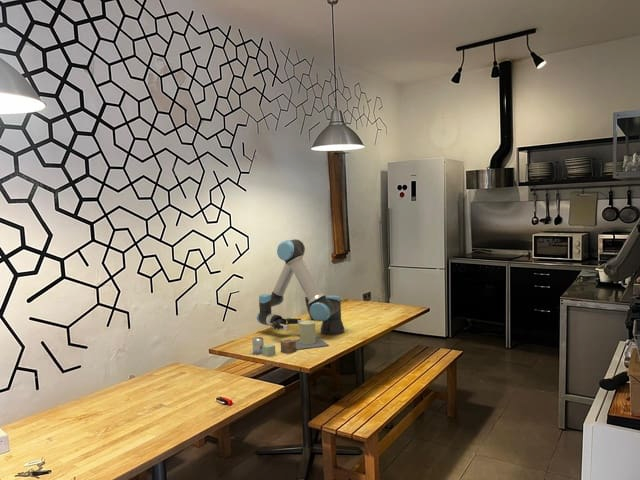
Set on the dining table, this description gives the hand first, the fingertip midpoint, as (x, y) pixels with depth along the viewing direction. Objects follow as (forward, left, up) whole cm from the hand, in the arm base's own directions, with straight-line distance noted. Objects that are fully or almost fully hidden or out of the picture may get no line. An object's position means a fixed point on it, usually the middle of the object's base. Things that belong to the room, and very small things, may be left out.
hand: (296, 325), depth 279 cm
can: (-5, +7, -9) cm, 12 cm away
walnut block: (+9, +19, -9) cm, 24 cm away
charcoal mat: (-4, +8, -9) cm, 13 cm away
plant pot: (-27, -52, -9) cm, 59 cm away
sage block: (+21, +20, -9) cm, 30 cm away
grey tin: (+25, +15, -9) cm, 31 cm away
